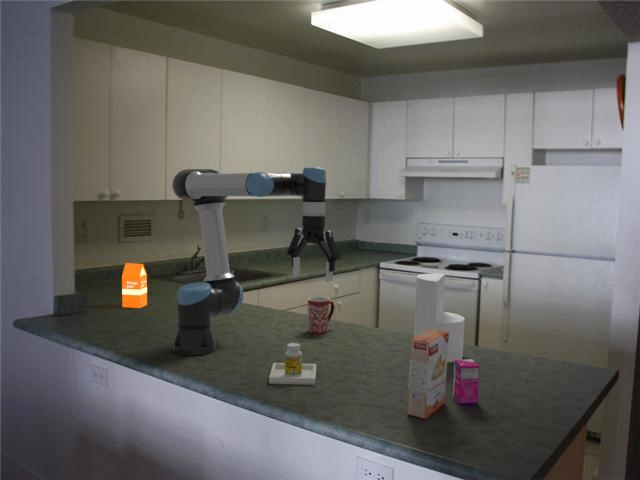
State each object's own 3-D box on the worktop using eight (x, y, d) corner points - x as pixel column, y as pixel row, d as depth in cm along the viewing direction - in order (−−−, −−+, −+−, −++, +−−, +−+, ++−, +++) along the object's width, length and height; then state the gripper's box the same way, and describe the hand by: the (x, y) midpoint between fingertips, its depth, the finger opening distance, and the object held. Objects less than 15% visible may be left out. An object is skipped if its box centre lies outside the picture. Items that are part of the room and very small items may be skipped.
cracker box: (427, 420, 158) (430, 342, 156) (406, 415, 162) (408, 338, 159) (446, 404, 170) (450, 331, 168) (426, 399, 173) (429, 327, 171)
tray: (268, 383, 183) (269, 377, 183) (273, 368, 197) (273, 362, 197) (315, 384, 183) (315, 378, 183) (316, 369, 197) (316, 363, 197)
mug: (316, 335, 238) (317, 302, 237) (302, 330, 245) (302, 298, 244) (340, 331, 246) (341, 298, 245) (326, 326, 253) (327, 294, 252)
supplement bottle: (304, 373, 192) (305, 343, 191) (297, 378, 187) (298, 348, 186) (288, 370, 194) (289, 341, 193) (281, 375, 189) (282, 345, 188)
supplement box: (451, 397, 175) (453, 359, 174) (471, 397, 176) (473, 358, 174) (458, 405, 169) (460, 365, 168) (478, 404, 170) (480, 365, 169)
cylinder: (408, 358, 211) (412, 279, 208) (418, 345, 227) (421, 272, 224) (459, 365, 205) (463, 283, 202) (465, 351, 221) (469, 275, 218)
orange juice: (129, 303, 288) (129, 261, 286) (147, 304, 287) (146, 262, 285) (122, 307, 281) (121, 264, 278) (140, 308, 279) (139, 265, 277)
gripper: (351, 216, 194) (350, 281, 197) (291, 212, 209) (290, 273, 211) (338, 217, 188) (337, 285, 191) (277, 213, 203) (276, 275, 205)
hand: (312, 278), depth 201 cm, fingers open, 13 cm apart
